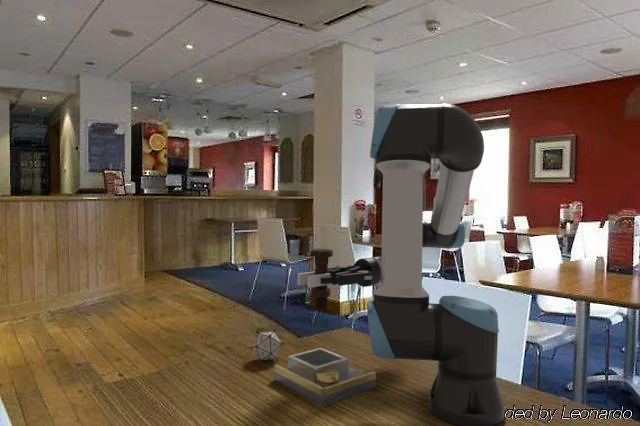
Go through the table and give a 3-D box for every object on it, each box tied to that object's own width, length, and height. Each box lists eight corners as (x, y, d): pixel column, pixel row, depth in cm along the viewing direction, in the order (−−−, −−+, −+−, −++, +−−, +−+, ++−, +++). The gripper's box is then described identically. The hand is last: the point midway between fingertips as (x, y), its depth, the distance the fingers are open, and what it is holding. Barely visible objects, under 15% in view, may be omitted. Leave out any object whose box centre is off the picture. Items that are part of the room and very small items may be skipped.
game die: (271, 376, 128) (278, 354, 122) (242, 362, 129) (247, 340, 123) (284, 350, 135) (291, 328, 129) (257, 338, 136) (262, 315, 130)
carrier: (375, 387, 112) (375, 365, 112) (323, 406, 102) (323, 383, 102) (324, 364, 126) (325, 345, 126) (274, 379, 116) (274, 359, 116)
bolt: (328, 313, 116) (329, 251, 116) (308, 312, 117) (309, 250, 117) (332, 308, 122) (333, 248, 121) (313, 307, 123) (314, 248, 122)
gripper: (394, 290, 125) (325, 302, 109) (350, 280, 137) (283, 290, 122) (395, 261, 124) (326, 269, 109) (351, 254, 137) (283, 260, 122)
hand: (303, 280), depth 116 cm, fingers closed on bolt, 3 cm apart
